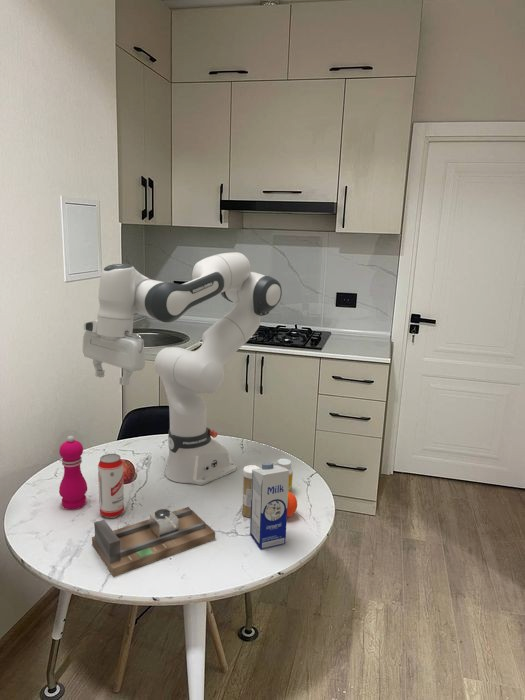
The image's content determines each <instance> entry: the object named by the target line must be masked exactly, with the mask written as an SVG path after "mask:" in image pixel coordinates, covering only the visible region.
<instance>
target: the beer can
mask: <svg viewBox="0 0 525 700" xmlns="http://www.w3.org/2000/svg"><path fill="white" fill-rule="evenodd" d="M97 471H98V474H97V476H98V477H97V478H98V497H99V500H98V501H99V512H100V513H99V514H100V515H101V516H103V517H105V518H107V519H115V518H117V517H119V516H121V515H122V514H123V512H124V511H125V493H124V491H125V488H124V485H125V484H124V463H123V461H122V458H121V455H120V454H117V453H106V454H104V455H102V456H100V458H99V462H98V464H97Z"/></svg>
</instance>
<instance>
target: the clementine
mask: <svg viewBox="0 0 525 700" xmlns="http://www.w3.org/2000/svg"><path fill="white" fill-rule="evenodd" d="M297 508H298V500H297V497H296V496H295V494H294V493H292V491H291V492H289V491H288V503H287V518H290V517H291V516H293V515H294V514H295V513H296V511H297Z"/></svg>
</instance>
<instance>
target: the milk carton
mask: <svg viewBox="0 0 525 700" xmlns="http://www.w3.org/2000/svg"><path fill="white" fill-rule="evenodd" d="M289 471H290V470H288V469H287V468H284V467H281V466H278V465H277V464H276V465H274V463H273V462H265V463H262V464H261V468H260V467H259V468H258V469H252V492H251V517H250V524H249V525H250V527H249V535H250V537H251V539H253V541H254V542H255V544H256V545H257V547H258V548H259V550H264V549H269V548H273V547H277V546H282V545H286V542H287V541H286V540H287V537H286V536H287V535H286V534H287V522H288V521H287V520H288V517H287V503H288V484H289Z"/></svg>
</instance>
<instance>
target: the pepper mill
mask: <svg viewBox="0 0 525 700" xmlns="http://www.w3.org/2000/svg"><path fill="white" fill-rule="evenodd" d="M83 453H84V447H83V444H82V442H80V441H78V440H75V437H74V436H73V435H68V436H67V438H66V441H64V442H63V443H61V445H60V447H59V453H58V454H59V455H60V458H62V459H61V464H62V466H63V469H64V470H63V471H64V472H63V476H62V479H61V481H60V484H59V489H58V490H59V491H58V493H59V495H60V497H61V507H62V508H63V509H65V510H77V509H80V508H82V507H84V506H85V505H86V503H87V496H86V493H87V492H88V483H87V480H86V479H85V477H84V476H83V473H82V469H81V464H82V461H83V460H82V458H83V457H82V455H83Z"/></svg>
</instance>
